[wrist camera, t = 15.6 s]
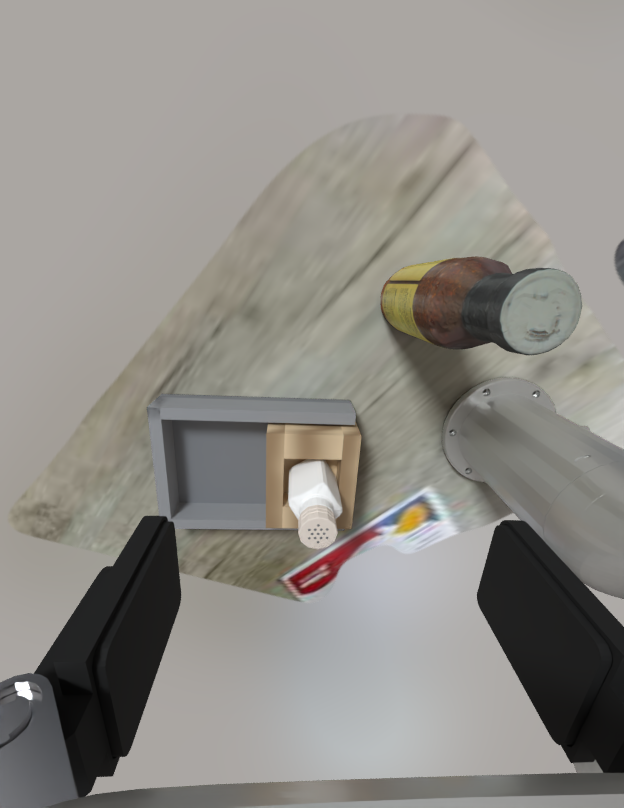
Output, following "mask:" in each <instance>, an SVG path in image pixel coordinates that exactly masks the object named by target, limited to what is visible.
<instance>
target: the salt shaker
mask: <svg viewBox="0 0 624 808" xmlns="http://www.w3.org/2000/svg"><path fill="white" fill-rule="evenodd" d="M288 502H289V506H290V508H291V510H292V511H293V513H294V514H295V516H296V517H297V519H298V534H299V537H300V540H301V542H302V543H303V544H305V545H306V546H307V547H309V548H314V549H321V548H325V547H328V546H329V545H330V544H332V543H333V542H334V541H335V539H336V536H337V533H338V531H337V525H336V518H338V517H339V516H340V515H341V513H342V504H341V499H340V494H339V489H338V484H337V479H336V476H335V475H334V473H333V472H332V470H331V468H330V467H329V465H328V464H327V462H326V460H325V459H306V460H304V461H302V462H301V463H299V464H297V465H295V466H293V467H292V468H291V469H290V470H289V492H288Z"/></svg>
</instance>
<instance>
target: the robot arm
mask: <svg viewBox="0 0 624 808" xmlns="http://www.w3.org/2000/svg"><path fill="white" fill-rule="evenodd" d="M483 390H484V391H483ZM450 430H451V431H450ZM442 444H443V450H444V452H445V455H446V457H447V459H448V460H449V462H450V463H451V464H452V466H453V467H454V468H455V469H456V470H457V471H458V472H459V473H460V474H462V475H463V476H465V477H467V478H469V479H472V480H474V481H479V482H486V483H487V484H488V485H489V486H490V487H491V488H492V489H493V490H494V491H495V493H496V494H497V495H498V496H499V497H500V498H501V499H502V500H503V501H504V502H505V504H506V505H507V506H508V507H509V508H510V509H511V510H512V511H513V512H514V513H515V514H516V516H517V517H518V518H519V519H520V520H521V521H516V520H515V521H514V520H505V521H502V522H501V524H500V525H499V526H496V528H495V530H494V534H493V537H492V541H491V545H490V548H489V553H488V556H487V560H486V563H485V567H484V570H483V574H482V578H481V581H480V585H479V589H478V592H477V600H478V604H479V607H480V609H481V611H482V613H483V614H484V616H485V618H486V620H487V621H488V624H489V625H490V627H491V629H492V631H493V633H494V634H495V636H496V638H497V640H498V642H499V643H500V645H501V647H502V649H503V651H504V653H505V654H506V656H507V658H508V660H509V662H510V663H511V665H512V667H513V669H514V670H515V672H516V674H517V676H518V678H519V680H520V682H521V683H522V685H523V687H524V689H525V691H526V692H527V694H528V696H529V698H530V699H531V701H532V703H533V705H534V707H535V709H536V711H537V712H538V714H539V716H540V718H541V720H542V721H543V723H544V725H545V727H546V729H547V730H548V732H549V734H550V735H551V737H552V739H553V740H554V741H555V742H556V743H557V744H558V745H561V746H562V748H563V750H564V751H565V753H566V755H567V757H568V759H569V760H570V762H571V763H573V764H574V766H575V769H576V772H577V773H565V774H564V773H563V774H529V775H528V774H523V775H482V776H452V777H451V776H449V777H414V778H383V779H355V780H354V779H351V780H322V781H296V782H272V783H271V782H270V783H244V784H217V785H200V786H184V787H167V788H150V789H136V790H127V791H119V792H111V793H102V794H95V795H90V796H86V795H87V794H88V793H90V792H91V790H92V787H93V785H94V783H95V780H96V777H104V776H105V777H107V776H113V774H114V772H115V769H116V766H117V763H118V760H119V758H120V757H125V756H127V754H128V753H129V751H130V748H131V746H132V743H133V740H134V737H135V735H136V732H137V729H138V726H139V723H140V720H141V717H142V714H143V711H144V708H145V706H146V703H147V700H148V697H149V694H150V691H151V688H152V685H153V682H154V679H155V676H156V674H157V671H158V668H159V665H160V662H161V659H162V656H163V653H164V650H165V647H166V645H167V642H168V639H169V636H170V633H171V630H172V626H173V624H174V621H175V618H176V615H177V612H178V609H179V606H180V601H181V588H180V579H179V578H180V577H179V567H178V557H177V546H176V536H175V526H174V522H170V521H168V518H167V517H166V516H144V517H143V518H142V520H141V521H140V523H139V525H138V526H137V528H136V530H135V531H134V533H133V534H132V536H131V538H130V539H129V541H128V542H127V544H126V546H125V547H124V549H123V551H122V552H121V554H120V555H119V557H118V559H117V560H116V562H115V564H114V565H113V566H111V567H110V566H109V567H108V566H107V567H105V568H103V569H102V570H101V572H100V573H99V574H98V576H97V577H96V579H95V580H94V582H93V583H92V585H91V586H90V588H89V589H88V591H87V593H86V594H85V596H84V597H83V599H82V600H81V602H80V603H79V605H78V607H77V608H76V610H75V611H74V613H73V614H72V616H71V617H70V619H69V620H68V622H67V623H66V625H65V626H64V628H63V630H62V631H61V633H60V634H59V636H58V637H57V639H56V640H55V642H54V644H53V645H52V646H51V648H50V650H49V651H48V653H47V654H46V656H45V657H44V659H43V660H42V662H41V663H40V665H39V666H38V668H37V670H36V671H35V673H34V674H32V673H27V674H23V675H18V676H14V677H12V678H9V679H7V680H5V681H2V682H0V808H624V627H623V626H622V625H621V623H620V622H619V621H618V620H617V619H616V618H615V617H614V616H613V615H612V614H611V613H610V612H609V611H608V609H607V608H606V607H605V606H604V605H603V604H602V603H601V602H600V601H599V600H598V599H597V598H596V596H595V595H594V594H593V593H592V592H591V591H590V590H589V589H588V588H587V587H586V586H585V585H584V584H586V585H588V586H589V587H591V588H593V589H595V590H597V591H600V592H603V593H605V594H608V595H611V596H614V597H618V598H622V599H624V449H622V448H620V447H618V446H616V445H615V444H613V443H611V442H609V441H607V440H605V439H603V438H602V437H600V436H598V435H596V434H594V433H592V432H591V431H590V428H589V427H587V426H579V425H577V424H576V423H574V422H572V421H570V420H568V419H566V418H564V417H563V416H561V415H559V414H557V413H556V409H555V406H554V403H553V402H552V400H551V398H550V396H549V395H548V394H547V393H546V392H545V391H544V390H543V389H541V388H540V387H538V386H537V385H535V384H533V383H531V382H529V381H526V380H523V379H519V378H511V377H503V378H496V379H492V380H489V381H486V382H483V383H481V384H479V385H477V386H475V387H473V388H472V389H470V390H469V391H468V392H466V393H465V394H464V395H463V396H462V397H461V398H460V399H459V400H458V401H457V402H456V403H455V404H454V406H453V407H452V409H451V410H450V412H449V413H448V416H447V418H446V420H445V423H444V427H443V431H442ZM583 583H584V584H583ZM85 796H86V797H85Z"/></svg>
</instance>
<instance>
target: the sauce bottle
mask: <svg viewBox="0 0 624 808" xmlns="http://www.w3.org/2000/svg"><path fill="white" fill-rule="evenodd" d="M581 309H582V301H581V293H580V290H579V287H578V285H577V283H576V282H575V281H574V279H573V278H572V277H571V276H570V275H568V274H567V273H565V272H563V271H561V270H557V269H551V268H536V269H526V270H523V271H520V272H517V273H515V274H512V273H511V270H510V269H509V267H508V265H506V264H504V263H503V262H499V261H495V260H492V259H488V258H484V257H467V258H452V259H446V260H440V261H434V262H428V263H422V264H416V265H411V266H408V267H405V268H402V269H401V270H399V271H398V272H396V273H395V274H394V275H393V276H392V277H390V279H389V280H388V281H387V282H386V283H385V285H384V287H383V290H382V292H381V310H382V313H383V315H384V316H385V318H386V319H387V321H388V322H389V323H390V324H391V325H392V326H393V327H395V328H396V329H397V330H399V331H402V332H404V333H407V334H409V335H412V336H414V337H417V338H419V339H422V340H424V341H427V342H429V343H432V344H434V345H437V346H440V347H444V348H449V349H468V348H473V347H476V346H479V345H483V344H487V343H490V342H493V343H496V344H497V345H498V346H500V347H501V348H503V349H505V350H506V351H509V352H514V353H519V354H524V355H537V354H541V353H544V352H548V351H550V350H552V349H554V348H556V347H557V346H559V345H561V344H562V343H563V342H564V341H565V340H566V339H568V338H569V336H570V335H571V334H572V333H573V331H574V330H575V328H576V326H577V324H578V321H579V318H580V314H581Z"/></svg>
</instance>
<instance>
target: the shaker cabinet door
mask: <svg viewBox="0 0 624 808" xmlns="http://www.w3.org/2000/svg"><path fill="white" fill-rule="evenodd" d="M360 445H361V434H360V431H359V429H358V426H357V424H356V421H355V425H339V424H304V423H269V422H268V427H267V433H266V528H298V519H297V517H296V516H295V514H294V513H293V511H292V510H291V508H290V506H289V502H288V492H289V470H290V469H291V468H292V467H293V466H295V465H297V464H299V463H301V462H302V461H304V460H306V459H325V460H326V462H327V464H328V465H329V467H330V468H331V470H332V472H333V473H334V475H335V476H336V479H337V484H338V489H339V494H340V499H341V504H342V513H341V515H340V516H339V517H338V518H336V525H337V529H352V520H353V511H354V501H355V492H356V483H357V473H358V464H359V455H360Z"/></svg>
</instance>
